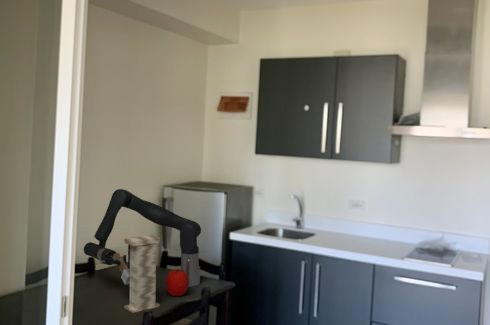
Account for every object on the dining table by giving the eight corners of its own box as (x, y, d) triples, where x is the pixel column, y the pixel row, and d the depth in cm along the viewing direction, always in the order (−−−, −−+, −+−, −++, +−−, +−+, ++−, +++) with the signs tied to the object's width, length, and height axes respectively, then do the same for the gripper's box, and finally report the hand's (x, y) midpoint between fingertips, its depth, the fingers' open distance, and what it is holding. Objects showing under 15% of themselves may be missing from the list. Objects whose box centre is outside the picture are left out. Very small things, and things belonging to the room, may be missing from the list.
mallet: (120, 256, 260) (123, 248, 258) (136, 282, 248) (139, 274, 246) (109, 257, 256) (112, 250, 254) (125, 284, 244) (127, 276, 242)
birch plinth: (150, 301, 246) (151, 235, 244) (159, 306, 240) (160, 238, 238) (123, 307, 237) (124, 238, 235) (132, 312, 231) (132, 241, 229)
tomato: (176, 289, 265) (177, 264, 264) (193, 295, 257) (194, 269, 256) (159, 295, 256) (159, 268, 255) (176, 300, 248) (176, 273, 247)
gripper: (94, 250, 260) (109, 257, 247) (119, 247, 269) (135, 253, 256) (94, 265, 261) (109, 273, 248) (119, 261, 270) (135, 268, 257)
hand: (122, 263), depth 252 cm, fingers closed on mallet, 2 cm apart
